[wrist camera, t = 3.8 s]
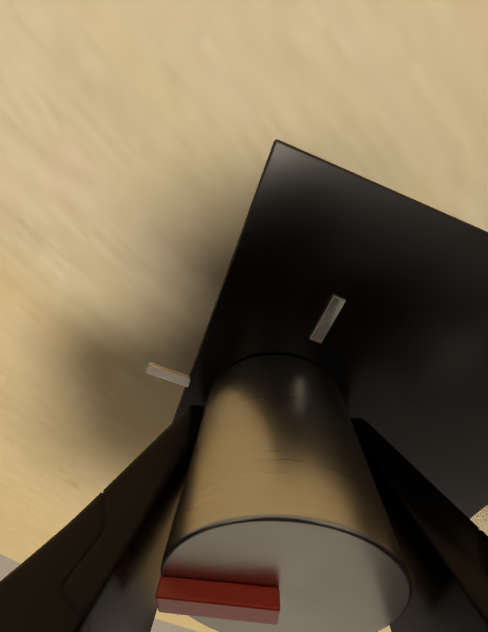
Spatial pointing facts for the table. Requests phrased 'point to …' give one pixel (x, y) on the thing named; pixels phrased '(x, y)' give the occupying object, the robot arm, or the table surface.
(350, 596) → the hob knob
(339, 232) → the panel
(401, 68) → the table surface
